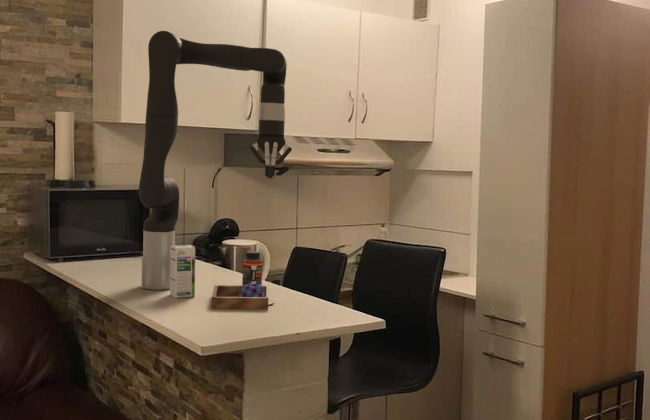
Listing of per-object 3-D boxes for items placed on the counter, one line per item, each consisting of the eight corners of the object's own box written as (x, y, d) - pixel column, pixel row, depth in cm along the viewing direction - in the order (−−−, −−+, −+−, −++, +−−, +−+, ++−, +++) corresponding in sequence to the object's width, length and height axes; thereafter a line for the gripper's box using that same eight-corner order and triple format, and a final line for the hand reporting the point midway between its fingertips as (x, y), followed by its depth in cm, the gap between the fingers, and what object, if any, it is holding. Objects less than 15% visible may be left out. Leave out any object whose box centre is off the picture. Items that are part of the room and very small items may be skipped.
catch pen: (211, 308, 193) (211, 297, 193) (214, 295, 210) (214, 285, 210) (268, 309, 195) (268, 298, 195) (266, 295, 212) (266, 285, 212)
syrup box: (175, 298, 204) (176, 247, 203) (169, 294, 209) (170, 244, 208) (194, 297, 207) (195, 246, 206) (188, 293, 212) (189, 243, 211)
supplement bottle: (258, 291, 219) (259, 253, 218) (239, 289, 220) (240, 252, 219) (264, 287, 225) (265, 251, 224) (245, 286, 226) (246, 250, 225)
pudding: (278, 308, 198) (278, 289, 198) (234, 309, 195) (234, 290, 194) (268, 298, 210) (269, 280, 209) (227, 299, 206) (227, 281, 206)
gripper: (249, 117, 209) (247, 178, 211) (295, 119, 211) (292, 179, 212) (249, 118, 217) (247, 176, 218) (293, 120, 218) (291, 178, 220)
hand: (269, 178), depth 215 cm, fingers closed
